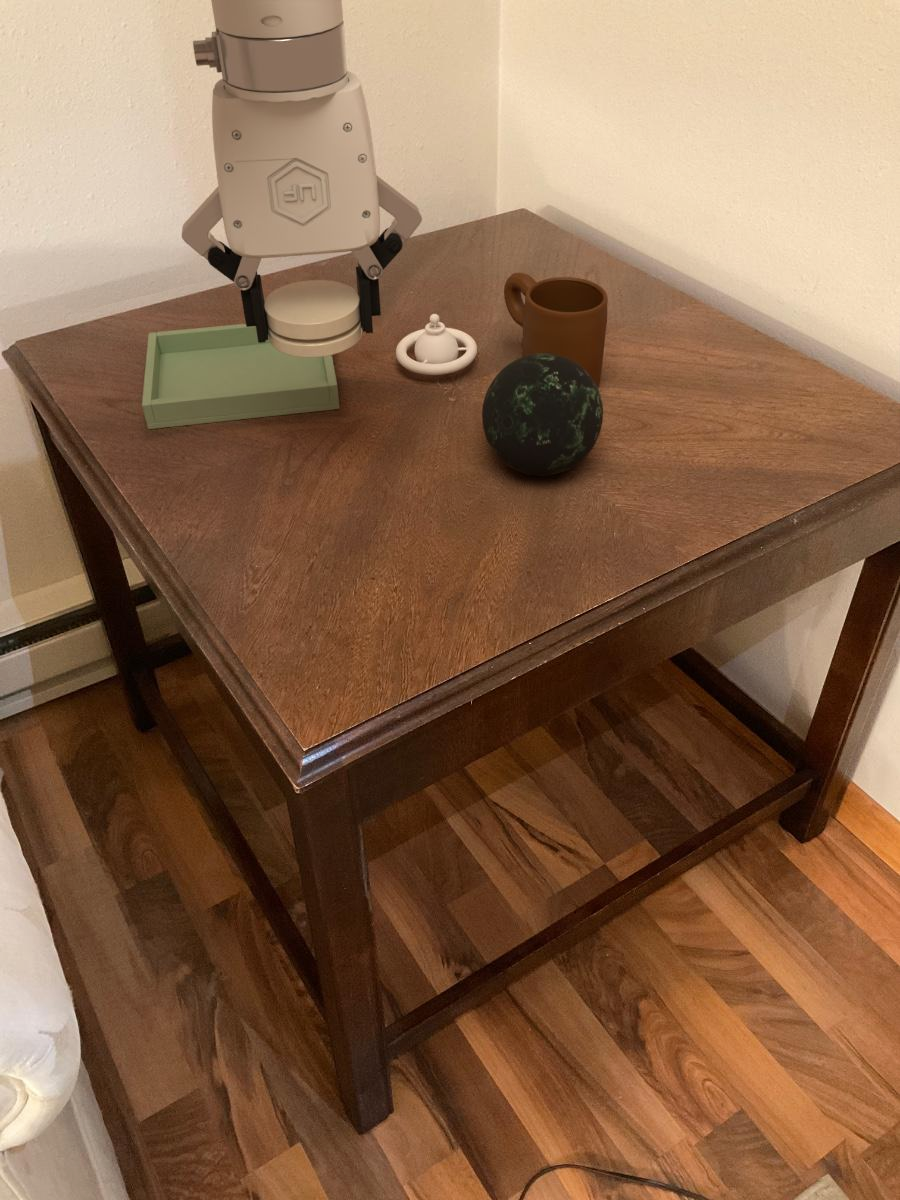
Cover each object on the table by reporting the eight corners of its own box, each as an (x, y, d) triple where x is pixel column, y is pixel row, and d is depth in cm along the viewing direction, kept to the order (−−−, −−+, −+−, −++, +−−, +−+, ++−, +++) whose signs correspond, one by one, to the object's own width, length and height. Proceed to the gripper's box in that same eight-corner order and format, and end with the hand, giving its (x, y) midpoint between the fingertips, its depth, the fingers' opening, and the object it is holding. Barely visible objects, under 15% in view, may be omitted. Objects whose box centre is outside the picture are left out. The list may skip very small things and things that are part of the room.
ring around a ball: (493, 371, 97) (449, 338, 102) (492, 318, 93) (447, 286, 98) (424, 398, 94) (382, 362, 99) (420, 344, 90) (377, 310, 95)
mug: (475, 365, 98) (476, 274, 91) (533, 341, 101) (538, 252, 95) (557, 417, 91) (563, 323, 84) (616, 389, 94) (627, 297, 88)
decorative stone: (537, 419, 91) (543, 319, 84) (621, 465, 85) (634, 362, 78) (457, 463, 86) (456, 360, 79) (541, 515, 80) (547, 409, 74)
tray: (148, 429, 90) (141, 405, 89) (154, 356, 100) (148, 332, 98) (339, 409, 92) (337, 384, 91) (327, 339, 102) (324, 315, 100)
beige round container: (270, 367, 69) (264, 327, 67) (268, 321, 74) (262, 283, 72) (367, 358, 70) (364, 319, 68) (358, 313, 75) (355, 276, 73)
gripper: (131, 84, 56) (191, 366, 68) (435, 66, 58) (441, 343, 70) (140, 48, 61) (195, 315, 73) (418, 33, 63) (426, 295, 75)
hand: (314, 327), depth 71 cm, fingers closed on beige round container, 6 cm apart
